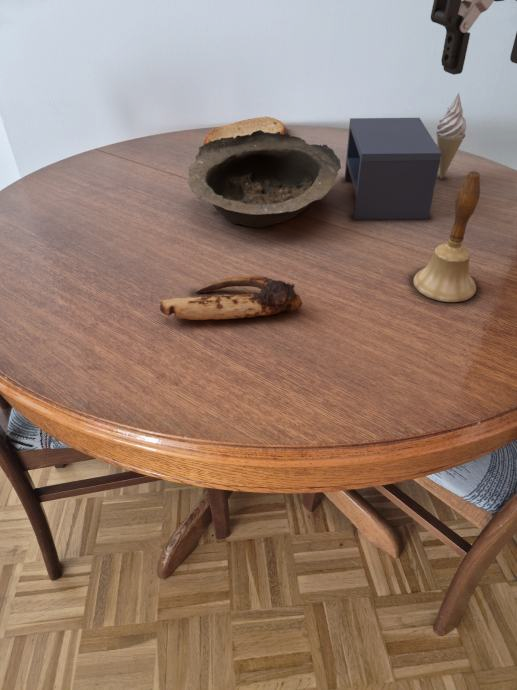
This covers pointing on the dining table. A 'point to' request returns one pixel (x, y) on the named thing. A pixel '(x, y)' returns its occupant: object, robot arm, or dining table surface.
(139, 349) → the dining table surface
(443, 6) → the robot arm
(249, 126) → the bread slice
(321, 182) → the stone bowl
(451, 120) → the ice cream cone
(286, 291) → the lashed bone hook
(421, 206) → the shelf
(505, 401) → the dining table surface
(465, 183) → the hand bell
